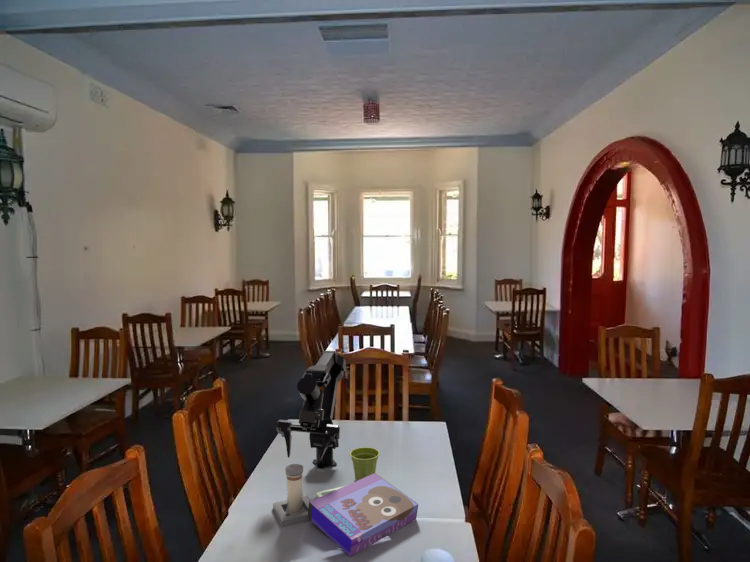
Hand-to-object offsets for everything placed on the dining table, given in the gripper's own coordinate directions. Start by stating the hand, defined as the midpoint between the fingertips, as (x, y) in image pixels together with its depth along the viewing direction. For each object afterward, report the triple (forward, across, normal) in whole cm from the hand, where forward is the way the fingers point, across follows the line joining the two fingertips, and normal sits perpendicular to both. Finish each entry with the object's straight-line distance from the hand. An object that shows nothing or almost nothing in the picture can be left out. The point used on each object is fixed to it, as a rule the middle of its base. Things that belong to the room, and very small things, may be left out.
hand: (304, 458), depth 153 cm
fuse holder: (+15, 0, +2) cm, 15 cm away
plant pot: (0, +18, +18) cm, 25 cm away
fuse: (+15, 0, +1) cm, 15 cm away
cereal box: (+7, +27, +1) cm, 28 cm away
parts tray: (+10, +11, +6) cm, 16 cm away
